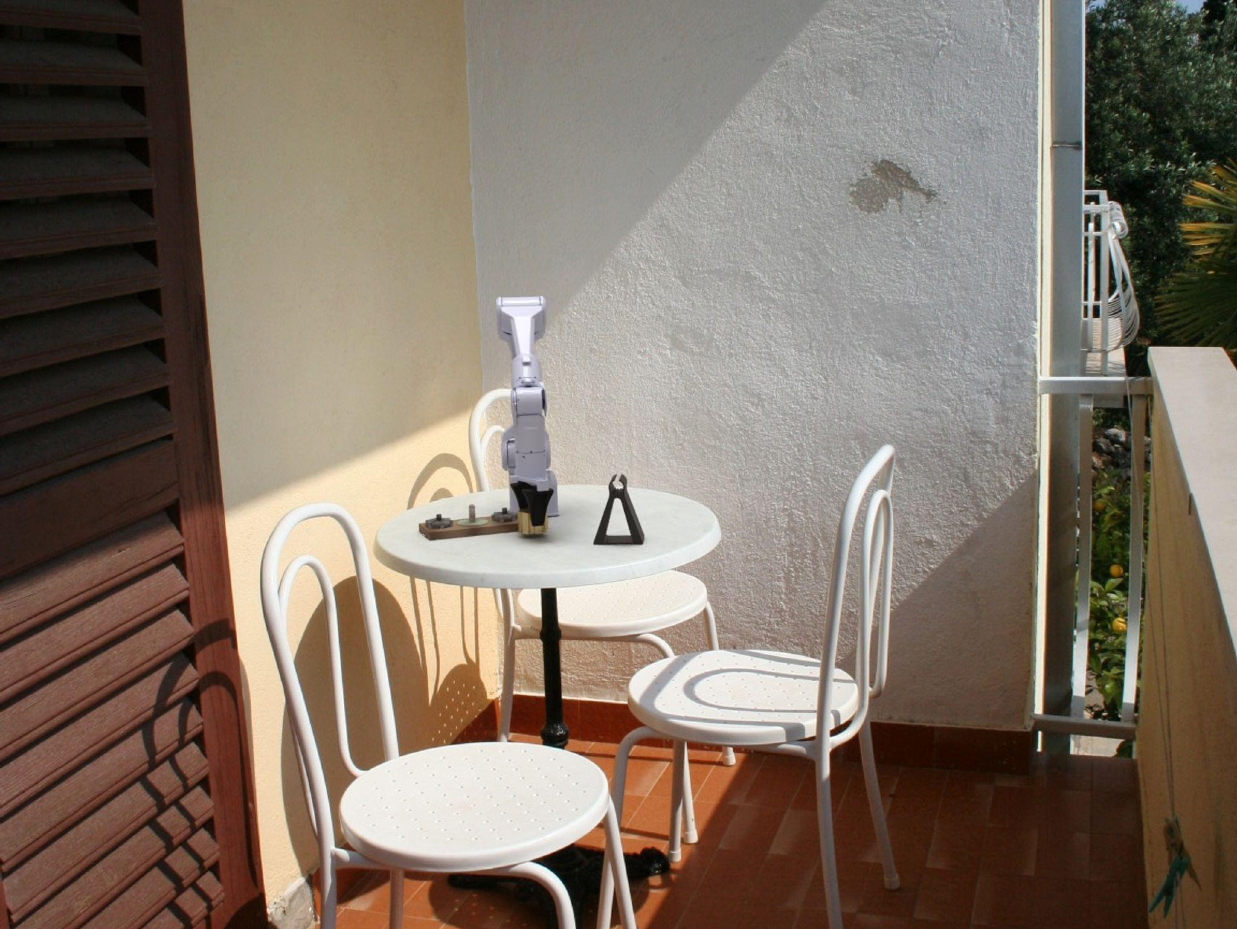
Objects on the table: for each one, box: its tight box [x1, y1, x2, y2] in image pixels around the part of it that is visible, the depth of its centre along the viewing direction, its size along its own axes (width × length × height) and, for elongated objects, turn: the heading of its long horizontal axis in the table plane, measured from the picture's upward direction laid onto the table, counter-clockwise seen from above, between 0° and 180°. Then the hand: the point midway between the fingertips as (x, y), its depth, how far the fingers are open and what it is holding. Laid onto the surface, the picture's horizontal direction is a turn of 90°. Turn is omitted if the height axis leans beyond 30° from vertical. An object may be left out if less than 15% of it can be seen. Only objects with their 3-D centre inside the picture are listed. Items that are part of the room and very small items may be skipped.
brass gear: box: [517, 508, 549, 535], centre depth 230 cm, size 6×6×4 cm
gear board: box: [418, 503, 518, 541], centre depth 236 cm, size 19×9×5 cm, turn 112°
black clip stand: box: [593, 473, 645, 546], centre depth 225 cm, size 9×6×12 cm, turn 85°
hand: (532, 522), depth 231 cm, fingers closed on brass gear, 6 cm apart
